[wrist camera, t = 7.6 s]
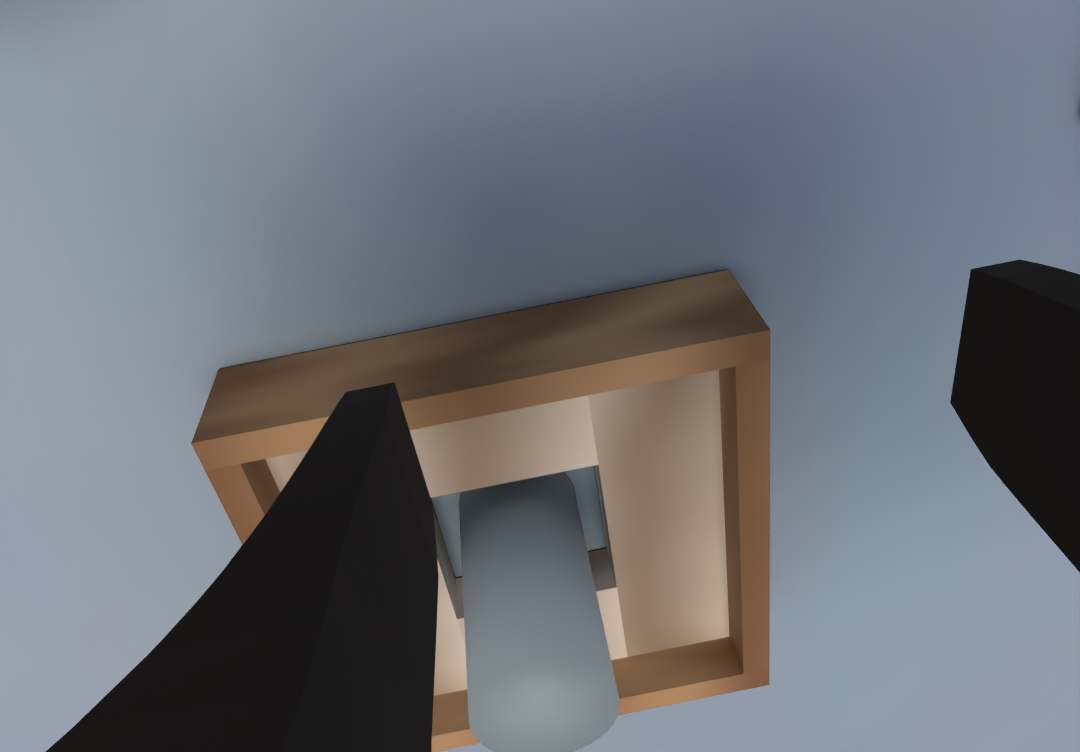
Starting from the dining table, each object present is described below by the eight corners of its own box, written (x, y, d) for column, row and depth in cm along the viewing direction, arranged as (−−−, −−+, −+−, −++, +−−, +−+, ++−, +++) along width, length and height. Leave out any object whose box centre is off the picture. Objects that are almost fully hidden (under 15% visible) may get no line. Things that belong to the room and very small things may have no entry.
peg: (565, 446, 24) (610, 651, 18) (582, 532, 25) (627, 741, 20) (447, 470, 24) (453, 682, 18) (472, 554, 25) (485, 770, 20)
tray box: (729, 269, 21) (770, 329, 18) (738, 608, 28) (769, 684, 26) (218, 369, 21) (191, 443, 18) (361, 684, 28) (355, 768, 26)
